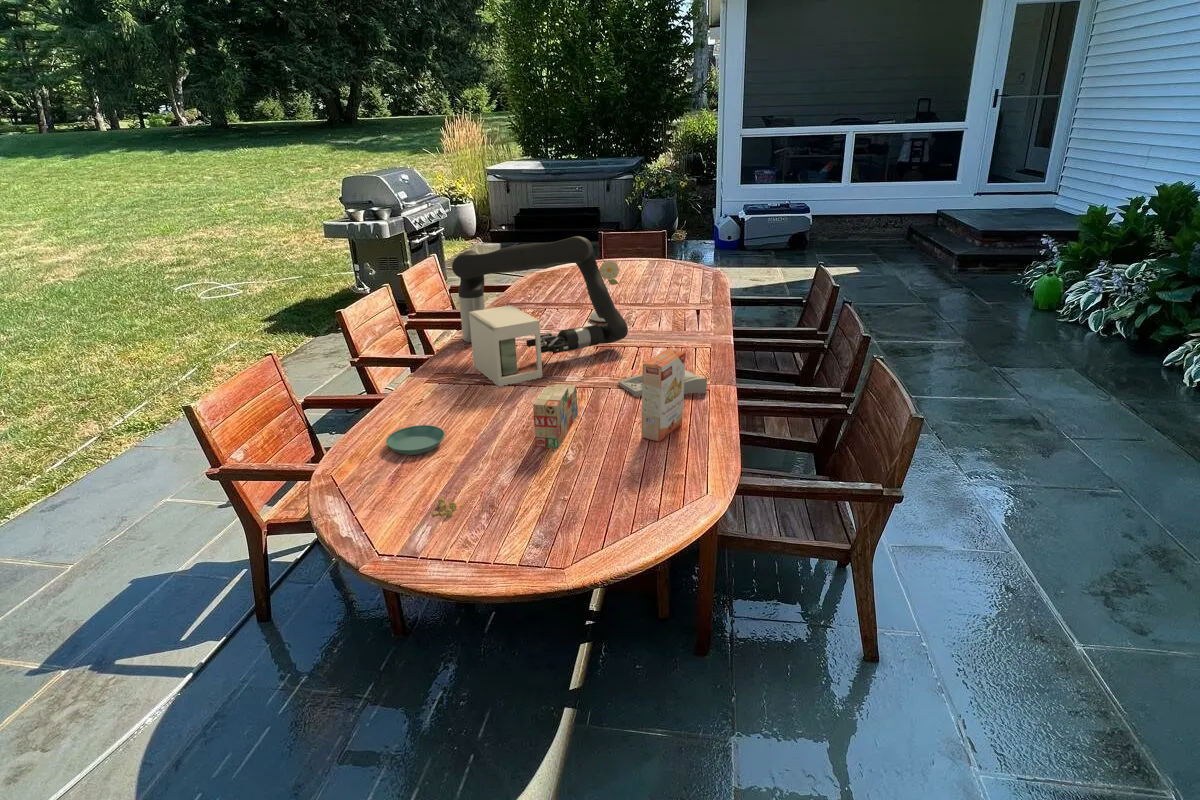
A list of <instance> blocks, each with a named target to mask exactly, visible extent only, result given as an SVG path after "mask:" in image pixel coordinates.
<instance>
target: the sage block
mask: <svg viewBox="0 0 1200 800" xmlns="http://www.w3.org/2000/svg"><path fill="white" fill-rule="evenodd" d="M499 350H500V362H501V375H503V376H509V375H514V374H519V373H518V372H519V371H518V360H517V358H518V357H517V347H516V338H511V339H506V340H500V341H499ZM508 374H509V375H508Z"/></svg>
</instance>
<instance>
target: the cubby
mask: <svg viewBox="0 0 1200 800" xmlns="http://www.w3.org/2000/svg"><path fill="white" fill-rule="evenodd" d="M469 321H470V331H471V341H472V343H471V348H472V349H471V350H472V361H473V368H475V369H477V370H478V371H479V372H480V373H481V374H483V375H484V376H485V377H486V378H487V377H488V378H487V379H488V380H490V381H491V380H492V381H493V382H492V381H491V382H492V383H494V384H495V386H497V385H498V386H500V387H504V385H505V386H509V385H508V384H510V385H514V384H518V382H519V383H522V382H521V381H524V382H527V381H526V380H528V381H533V380H537V378H538V379H542V378H543V366H542V365H543V364H542V361H543V360H542V353H541V346H542V345H541V342H540V341H541V340H540V335H541V330H540V329H541V327H540V320H539V319H537V318H536V317H534V316H532V315H530V314H528V313H526V312H525V311H523V310H520V309H519V308H518V307H515V306H514V305H511V304H510V305H504V306H498V307H492V308H485V309H484V310H477V311H471V312H469ZM527 336H534V339H535V342H536V345H535V355H536V356H535V357H536V358H535V359H536V369H535V370H529V371H526V372H525V371H524V372H521V373H514V374H509V375H504V376H502V374H501V362H500V350H499V341H500V340H506V339H511V338H515V339H516V338H522V337H527ZM541 377H542V378H541ZM532 379H533V380H532ZM513 383H514V384H513Z"/></svg>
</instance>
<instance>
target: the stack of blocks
mask: <svg viewBox="0 0 1200 800" xmlns="http://www.w3.org/2000/svg"><path fill="white" fill-rule="evenodd" d="M577 393H578V392H577V385H576V384H575V385H574V384H557V383H555V384H554V386H550V385H548V386H545V388H543V391H542V392H541V394H540V395H539V396H538V397H537V399H536V400H534V403H532V409H533V425H534V441H535V444H534V445H535V447H536V448H537V447H538V448H545V449H546V448H548V449H549V448H550V449H559V448H560V447H561V445H562V443H563V442H564V440H565V439H566V438H567V435H568V433H569V431H570V429H571V428H572V426H573V424H574V423H575V422H576V420H577V417H578V415H579V413H578V409H579V408H578V407H579V406H578V395H577Z"/></svg>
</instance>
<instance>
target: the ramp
mask: <svg viewBox="0 0 1200 800" xmlns="http://www.w3.org/2000/svg"><path fill="white" fill-rule="evenodd" d="M642 381H643V373H642V374H638V375H633V376H631V377H627V378H624V379H621V380H618V382H617V385H618V384H619V385H621V386H622V387H624V388H625V389H626V390H628V391H629V392H631V393H632V394H633V396H634V395H635V396H642ZM707 384H708V379H707V377H703V376H702V377H701V376H698V375H696V374H695V373H692V372H691V371H690V370H686V369H685V379H684V395H689V394H688V393H698V394H707V390H708V389H707V386H708V385H707ZM619 385H618V386H619ZM622 387H621V388H622ZM625 389H624V390H625ZM626 390H625V391H626ZM628 391H627V392H628ZM629 392H628V393H629ZM631 393H630V394H631ZM632 394H631V395H632ZM635 396H634V397H635Z"/></svg>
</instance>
